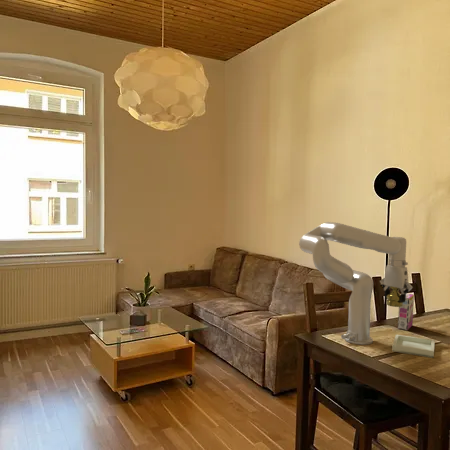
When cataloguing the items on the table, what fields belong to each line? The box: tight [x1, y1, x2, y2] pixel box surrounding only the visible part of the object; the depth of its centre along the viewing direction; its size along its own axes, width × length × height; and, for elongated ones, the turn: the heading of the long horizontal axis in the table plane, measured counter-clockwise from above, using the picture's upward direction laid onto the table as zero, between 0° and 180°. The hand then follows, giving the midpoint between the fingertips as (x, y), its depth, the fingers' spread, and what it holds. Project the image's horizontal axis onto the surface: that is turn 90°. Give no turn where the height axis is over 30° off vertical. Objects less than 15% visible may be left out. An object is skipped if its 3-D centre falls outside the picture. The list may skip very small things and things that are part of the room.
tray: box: [391, 334, 436, 359], centre depth 188 cm, size 16×16×3 cm
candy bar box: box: [397, 293, 415, 331], centre depth 218 cm, size 11×5×16 cm, turn 144°
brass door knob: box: [385, 286, 403, 308], centre depth 203 cm, size 7×8×10 cm
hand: (394, 300), depth 203 cm, fingers closed on brass door knob, 7 cm apart
